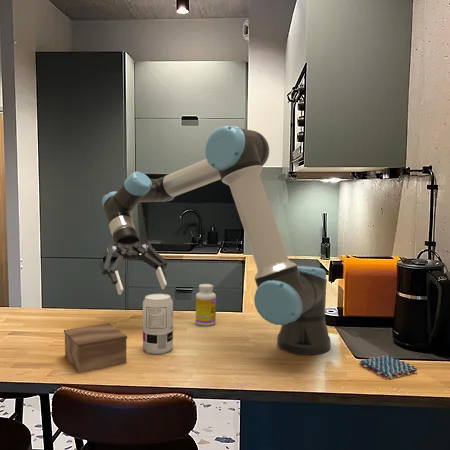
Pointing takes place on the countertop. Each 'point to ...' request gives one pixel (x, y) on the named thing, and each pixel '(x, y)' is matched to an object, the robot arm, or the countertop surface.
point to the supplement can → (157, 323)
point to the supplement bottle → (205, 305)
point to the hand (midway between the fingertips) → (143, 289)
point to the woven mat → (387, 367)
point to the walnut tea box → (95, 347)
